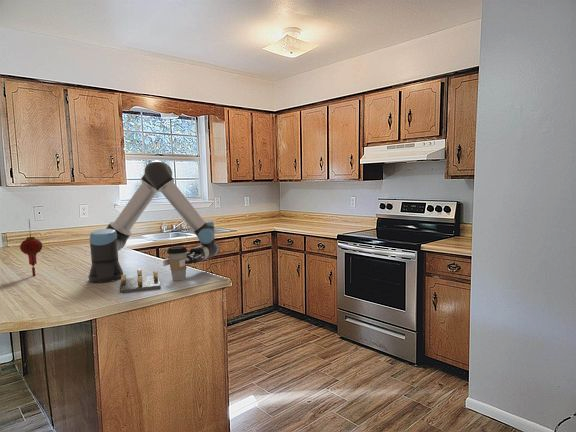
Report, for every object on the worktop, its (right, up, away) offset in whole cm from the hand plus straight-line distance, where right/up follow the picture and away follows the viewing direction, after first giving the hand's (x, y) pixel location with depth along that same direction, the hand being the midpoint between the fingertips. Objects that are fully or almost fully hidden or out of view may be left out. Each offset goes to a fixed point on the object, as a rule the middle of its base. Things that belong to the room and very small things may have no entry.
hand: (172, 263), depth 173 cm
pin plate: (-13, -9, -4) cm, 16 cm away
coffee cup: (+2, -8, +5) cm, 10 cm away
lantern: (-77, -9, +20) cm, 80 cm away
